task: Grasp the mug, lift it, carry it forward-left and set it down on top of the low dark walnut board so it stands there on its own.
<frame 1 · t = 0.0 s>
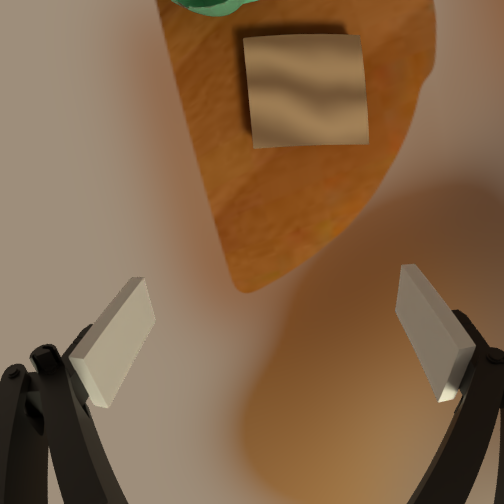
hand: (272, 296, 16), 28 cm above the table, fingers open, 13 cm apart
walnut board: (305, 90, 36), on the table
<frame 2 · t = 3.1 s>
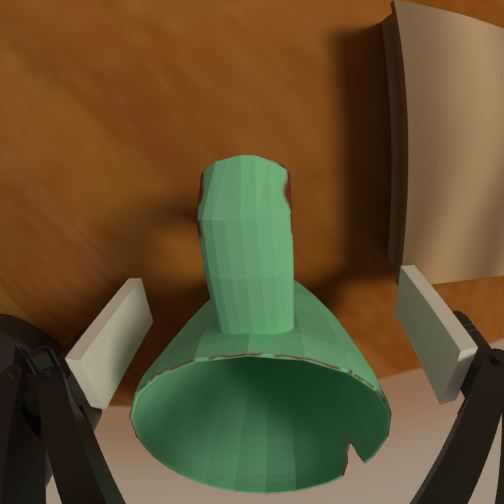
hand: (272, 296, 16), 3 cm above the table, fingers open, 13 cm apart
mug: (263, 268, 19), on the table
walnut board: (486, 147, 14), on the table
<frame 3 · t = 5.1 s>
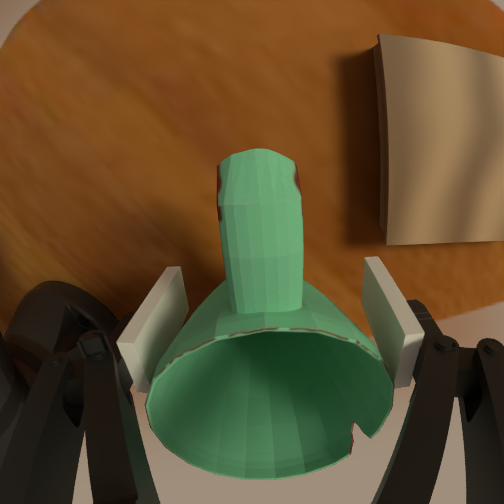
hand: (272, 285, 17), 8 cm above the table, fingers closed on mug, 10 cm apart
mug: (258, 262, 19), point 5 cm above the table, touching gripper
walnut board: (458, 141, 19), on the table
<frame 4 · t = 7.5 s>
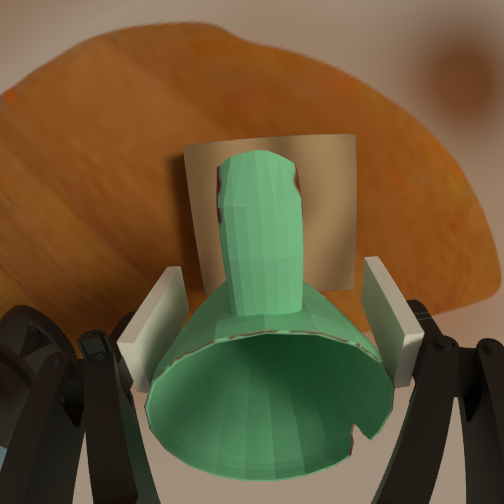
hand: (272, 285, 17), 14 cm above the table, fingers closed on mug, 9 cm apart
mug: (258, 263, 19), point 11 cm above the table, touching gripper
walnut board: (275, 211, 30), on the table
when the fingers open (5 cm above the table, at t = 9.9 s): mug moves 2 cm, resting on walnut board.
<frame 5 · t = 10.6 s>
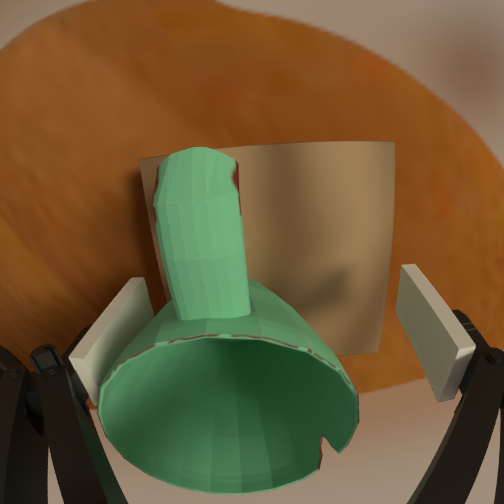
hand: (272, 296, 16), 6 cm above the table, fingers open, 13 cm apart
mug: (223, 271, 19), point 3 cm above the table, touching gripper, walnut board
walnut board: (274, 248, 21), on the table
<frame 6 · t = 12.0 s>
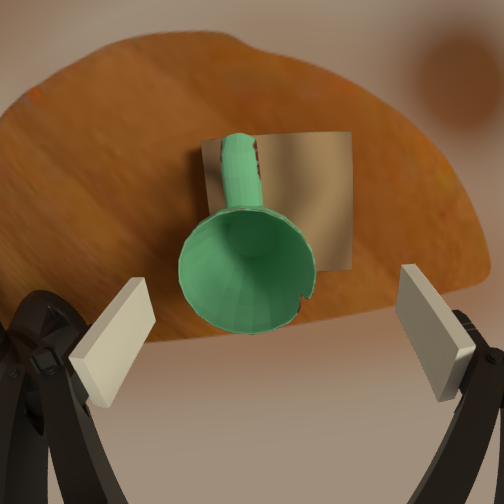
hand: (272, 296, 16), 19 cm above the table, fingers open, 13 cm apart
mug: (250, 209, 31), point 3 cm above the table, touching walnut board
walnut board: (281, 199, 33), on the table
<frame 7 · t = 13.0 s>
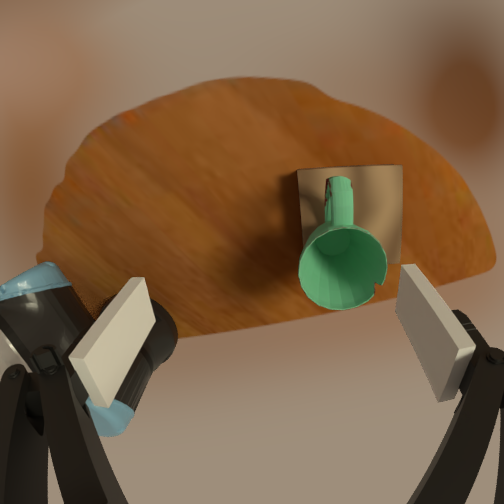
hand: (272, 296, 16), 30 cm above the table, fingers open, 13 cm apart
mug: (331, 221, 42), point 3 cm above the table, touching walnut board
walnut board: (349, 212, 44), on the table
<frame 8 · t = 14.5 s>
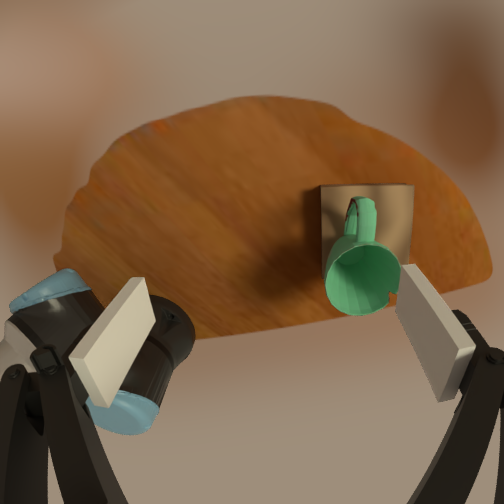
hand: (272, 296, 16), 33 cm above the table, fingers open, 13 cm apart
mug: (349, 233, 45), point 3 cm above the table, touching walnut board
walnut board: (363, 226, 47), on the table
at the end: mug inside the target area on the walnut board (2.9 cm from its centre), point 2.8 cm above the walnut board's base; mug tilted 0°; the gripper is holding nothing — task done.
